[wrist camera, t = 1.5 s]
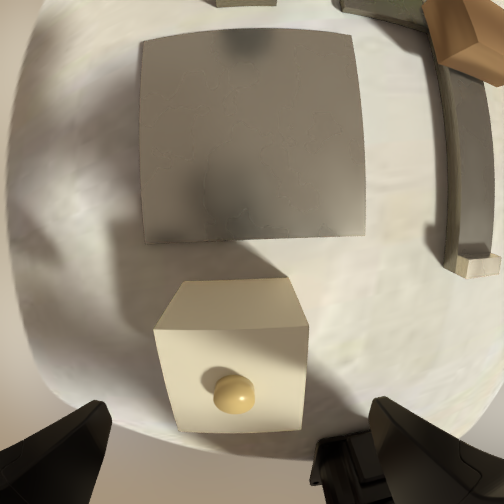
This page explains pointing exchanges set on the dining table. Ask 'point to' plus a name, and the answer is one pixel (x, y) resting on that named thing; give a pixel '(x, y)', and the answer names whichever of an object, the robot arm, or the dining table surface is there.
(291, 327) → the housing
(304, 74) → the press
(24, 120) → the dining table surface
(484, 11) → the brown block
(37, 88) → the dining table surface
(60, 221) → the dining table surface
